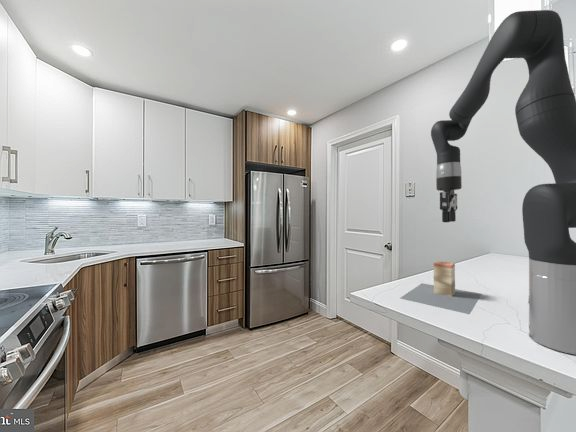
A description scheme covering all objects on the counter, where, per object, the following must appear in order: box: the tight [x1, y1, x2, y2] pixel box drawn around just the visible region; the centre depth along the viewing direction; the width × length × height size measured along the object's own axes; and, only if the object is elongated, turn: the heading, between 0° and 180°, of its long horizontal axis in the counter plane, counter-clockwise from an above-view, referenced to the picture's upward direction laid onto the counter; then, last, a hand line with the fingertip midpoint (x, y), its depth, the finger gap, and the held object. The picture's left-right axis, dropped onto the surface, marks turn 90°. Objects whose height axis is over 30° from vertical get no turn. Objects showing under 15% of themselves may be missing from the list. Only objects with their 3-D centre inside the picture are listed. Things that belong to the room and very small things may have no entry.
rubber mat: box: [399, 283, 482, 315], centre depth 79 cm, size 18×22×1 cm
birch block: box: [433, 260, 456, 297], centre depth 82 cm, size 5×5×10 cm
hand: (449, 221), depth 87 cm, fingers open, 8 cm apart
